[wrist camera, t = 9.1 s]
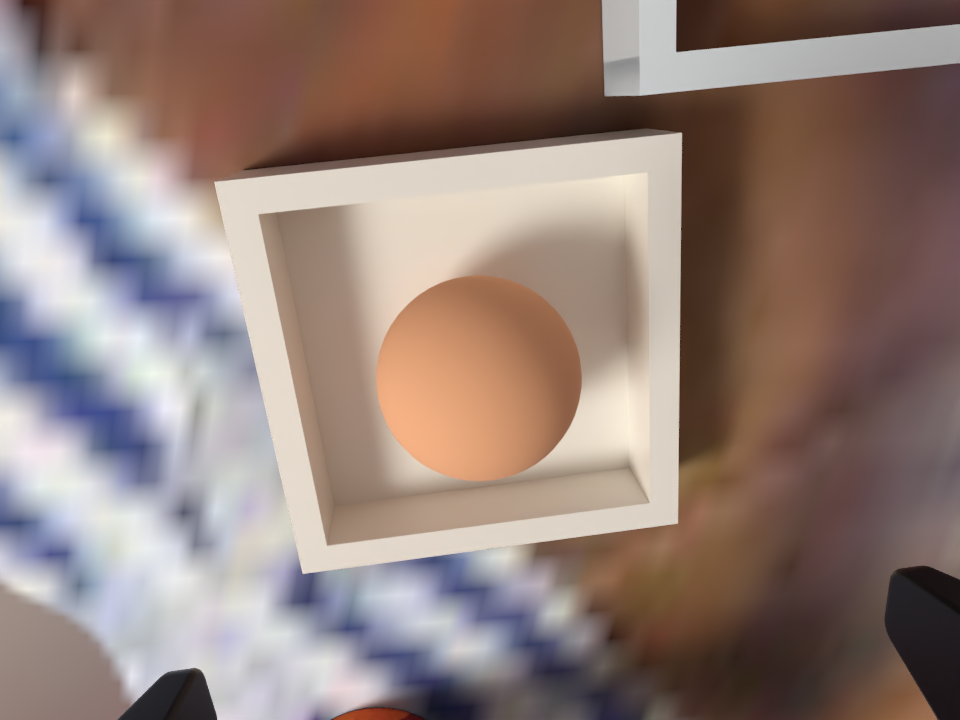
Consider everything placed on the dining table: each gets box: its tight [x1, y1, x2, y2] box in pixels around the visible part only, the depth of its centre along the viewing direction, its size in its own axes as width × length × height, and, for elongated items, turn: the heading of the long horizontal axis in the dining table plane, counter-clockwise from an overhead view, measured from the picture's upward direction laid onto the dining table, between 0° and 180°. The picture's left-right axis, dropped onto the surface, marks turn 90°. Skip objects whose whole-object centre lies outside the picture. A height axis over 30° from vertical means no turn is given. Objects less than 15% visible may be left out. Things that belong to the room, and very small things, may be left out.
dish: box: [214, 128, 682, 574], centre depth 19 cm, size 11×11×3 cm
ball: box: [376, 275, 582, 481], centre depth 17 cm, size 5×5×5 cm
